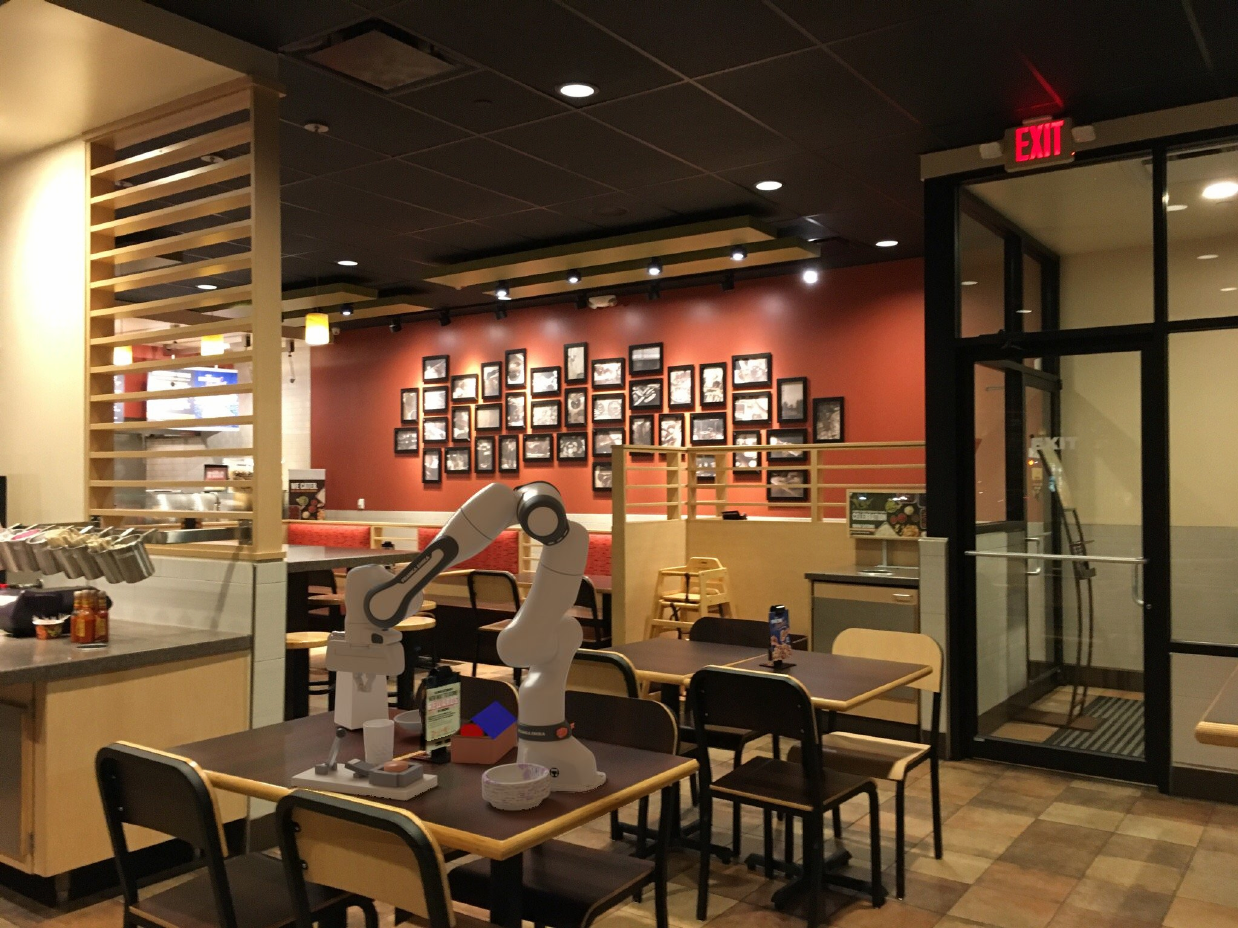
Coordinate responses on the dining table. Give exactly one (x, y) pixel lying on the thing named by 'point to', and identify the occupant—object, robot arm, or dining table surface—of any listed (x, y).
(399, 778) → the console
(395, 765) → the push button
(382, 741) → the white cup
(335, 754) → the toggle lever
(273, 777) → the dining table surface
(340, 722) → the milk
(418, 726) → the dish
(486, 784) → the paper bowls
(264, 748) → the dining table surface
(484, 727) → the house
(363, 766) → the rocker switch
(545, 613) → the robot arm
